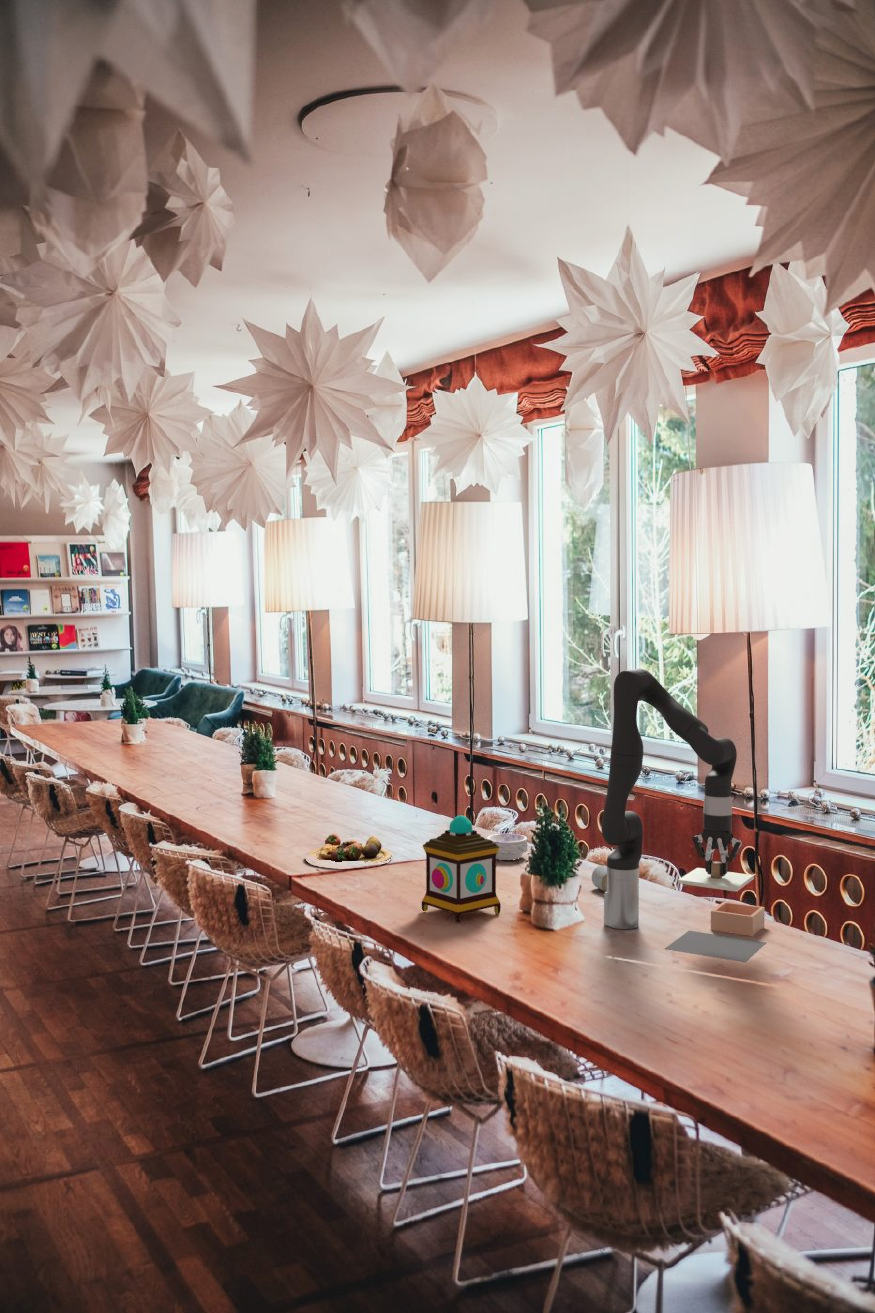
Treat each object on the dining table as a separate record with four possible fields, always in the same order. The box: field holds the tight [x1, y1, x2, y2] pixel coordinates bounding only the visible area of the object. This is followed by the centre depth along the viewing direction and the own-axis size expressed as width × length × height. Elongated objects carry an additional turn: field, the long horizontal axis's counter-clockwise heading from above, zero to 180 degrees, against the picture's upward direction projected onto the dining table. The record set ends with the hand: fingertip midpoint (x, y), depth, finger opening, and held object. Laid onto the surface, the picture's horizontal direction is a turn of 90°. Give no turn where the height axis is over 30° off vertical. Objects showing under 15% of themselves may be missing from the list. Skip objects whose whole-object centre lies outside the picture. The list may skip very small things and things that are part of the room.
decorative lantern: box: [421, 814, 502, 924], centre depth 340 cm, size 20×20×30 cm
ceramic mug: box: [591, 865, 607, 893], centre depth 368 cm, size 11×8×8 cm
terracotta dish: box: [710, 901, 766, 937], centre depth 323 cm, size 12×12×6 cm
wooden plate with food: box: [308, 833, 393, 863], centre depth 414 cm, size 32×32×8 cm
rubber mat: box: [664, 930, 767, 963], centre depth 306 cm, size 22×20×1 cm
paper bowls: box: [485, 833, 528, 861], centre depth 415 cm, size 15×15×8 cm
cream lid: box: [677, 861, 755, 893], centre depth 305 cm, size 16×16×5 cm
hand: (716, 874), depth 305 cm, fingers closed on cream lid, 3 cm apart
